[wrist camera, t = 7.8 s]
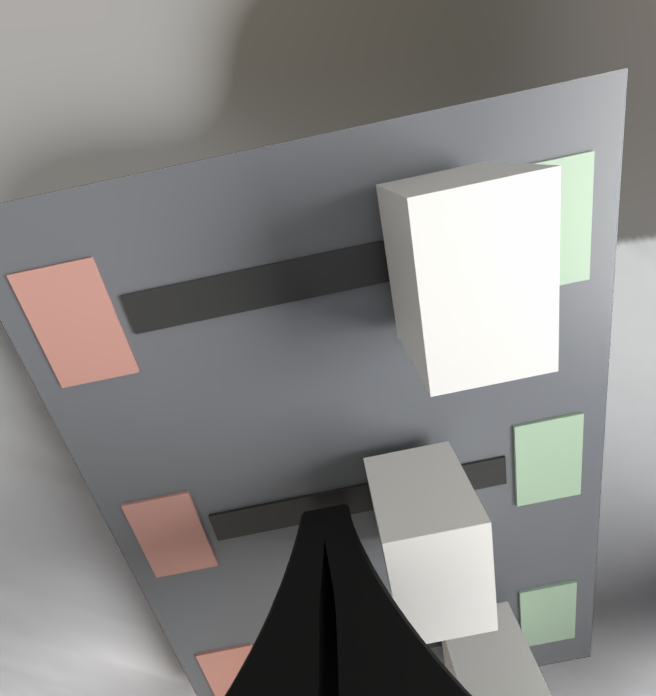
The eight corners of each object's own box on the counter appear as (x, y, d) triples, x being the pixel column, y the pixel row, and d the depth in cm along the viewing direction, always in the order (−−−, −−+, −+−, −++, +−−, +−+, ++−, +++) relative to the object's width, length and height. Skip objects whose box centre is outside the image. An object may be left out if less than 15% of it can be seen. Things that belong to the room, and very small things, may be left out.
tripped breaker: (448, 441, 13) (491, 522, 10) (458, 536, 14) (498, 630, 11) (363, 458, 13) (381, 544, 10) (382, 551, 14) (402, 648, 11)
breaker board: (574, 81, 11) (630, 67, 10) (562, 608, 19) (591, 658, 18) (-1, 205, 12) (-59, 215, 10) (221, 674, 20) (213, 731, 18)
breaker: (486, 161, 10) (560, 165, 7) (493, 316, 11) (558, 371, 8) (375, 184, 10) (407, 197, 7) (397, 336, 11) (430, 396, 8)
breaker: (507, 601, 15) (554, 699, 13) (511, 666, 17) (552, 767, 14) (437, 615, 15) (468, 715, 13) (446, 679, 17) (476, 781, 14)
